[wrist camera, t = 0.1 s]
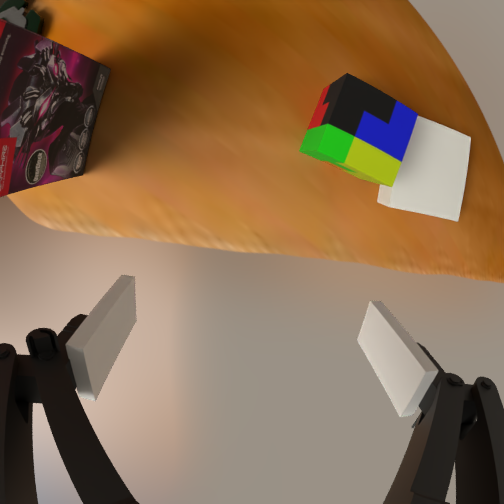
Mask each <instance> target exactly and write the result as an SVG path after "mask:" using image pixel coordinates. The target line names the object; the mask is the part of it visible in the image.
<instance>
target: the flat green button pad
mask: <svg viewBox="0 0 504 504" xmlns="http://www.w3.org/2000/svg"><path fill="white" fill-rule="evenodd" d="M27 6H28V2H27V1H26V0H7V1H5V2H4V3H3V5H2V6H1V7H0V19H3V20H5V21H8V22H10V23H13V24H15V25H18V26H20V27H23V28H25V29H27V30H30V31H32V32H34V33H37V34H39V35H41V31H42V27H43V23H44V19H43V18H42V17H41V16H40V15H39V14H38V13H37V12H36V11H35V10H33V9H32V10H30V11H29V10H27V9H25V8H26V7H27Z"/></svg>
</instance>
